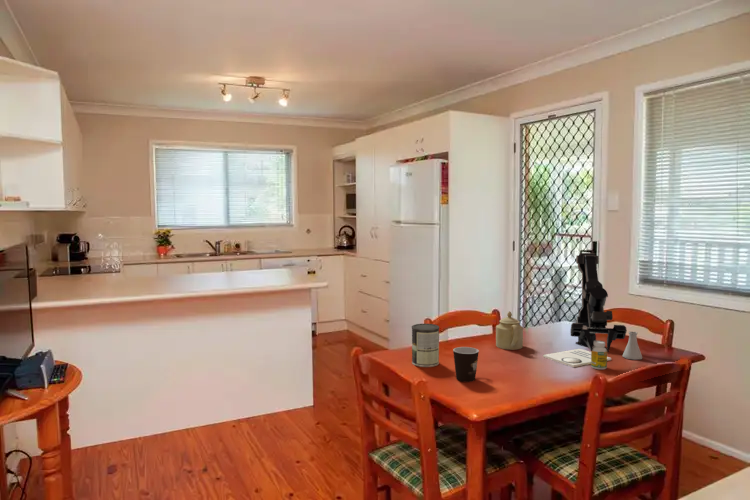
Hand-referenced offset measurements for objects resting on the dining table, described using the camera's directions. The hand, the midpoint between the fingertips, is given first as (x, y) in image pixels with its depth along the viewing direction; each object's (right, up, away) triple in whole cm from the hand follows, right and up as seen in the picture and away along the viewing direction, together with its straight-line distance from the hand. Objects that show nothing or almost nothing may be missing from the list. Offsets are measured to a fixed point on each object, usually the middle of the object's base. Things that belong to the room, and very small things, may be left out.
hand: (599, 350), depth 188 cm
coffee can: (-62, -6, +9) cm, 63 cm away
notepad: (-3, -6, +13) cm, 15 cm away
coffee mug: (-49, -8, -9) cm, 50 cm away
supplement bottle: (0, -7, +2) cm, 7 cm away
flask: (+19, -6, +14) cm, 24 cm away
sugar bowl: (-24, -5, +30) cm, 38 cm away
